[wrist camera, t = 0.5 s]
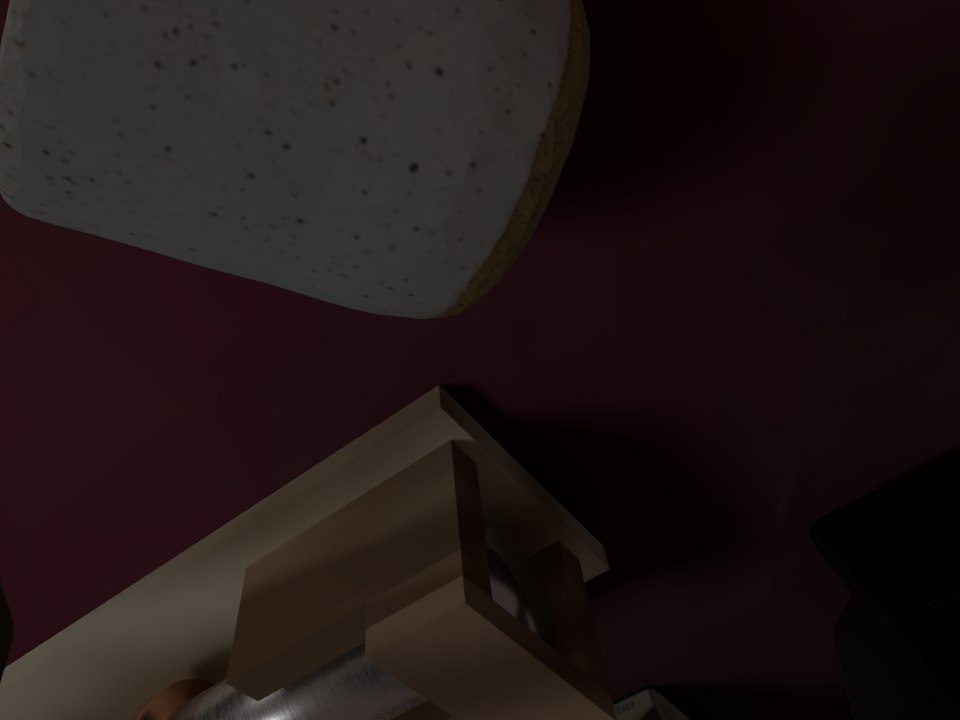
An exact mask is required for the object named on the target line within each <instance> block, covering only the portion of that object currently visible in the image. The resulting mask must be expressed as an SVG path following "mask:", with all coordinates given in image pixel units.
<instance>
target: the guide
mask: <svg viewBox="0 0 960 720" xmlns="http://www.w3.org/2000/svg"><path fill="white" fill-rule="evenodd" d="M489 527H495V528H498V529H500V530H502V531H503V532H505V533H506V534H508V535H509V536H510V537H511V538H512V539H513V540H514V541H515V542H516V543H517V544H518V545H519V547H520V548H521V549H522V550H523V552H524V553H525V555H526V556H527V557H528V559H529V561H530V562H531V564H532V565H533V567H534V569H535V571H536V573H537V575H538V577H539V579H540V581H541V583H542V586H543V588H544V590H545V593H546V596H547V599H548V603H549V607H550V612H551V620H552V628H551V633H550V636H549V637H548V639H547V640H545V641H544V640H542V639H541V638H540V637H539V636H538V635H536V634H535V633H534V632H533V631H531V630H530V629H529V628H528V627H526V626H525V625H524V624H523V623H521V622H520V621H519V620H518V619H516V618H515V617H514V616H513V615H512V614H510V613H509V612H508V611H507V610H505V609H504V608H503V607H502V606H500V605H499V604H498V603H497V602H495V601H494V600H493V598H492V590H491V582H490V573H489V565H488V557H487V549H486V541H485V532H484V530H485V529H486V528H489ZM607 570H609V565H608V562H607V558H606V554H605V550H604V547H603V545H602V544H601V543H600V542H599V541H598V540H597V539H596V538H595V537H594V536H593V535H592V534H591V533H590V532H589V531H587V530H586V529H585V528H584V527H583V526H582V525H581V524H580V523H579V522H578V521H577V520H576V519H575V518H574V517H573V516H572V515H571V514H570V513H569V512H568V511H567V510H566V509H565V508H564V507H563V506H562V505H561V504H560V503H559V502H558V501H557V500H556V499H555V498H554V497H553V496H552V495H551V494H550V493H549V492H548V491H547V490H546V489H545V488H544V487H543V486H542V485H541V484H539V483H538V482H537V481H536V480H535V479H534V478H533V477H532V476H531V475H530V474H529V473H528V472H527V471H526V470H525V469H524V468H523V467H522V466H521V465H520V464H519V463H518V462H517V461H516V460H515V459H514V458H513V457H512V456H511V455H510V454H509V453H508V452H507V451H506V450H505V449H504V448H503V447H502V446H501V445H500V444H499V443H498V442H497V441H496V440H495V439H494V438H493V437H491V436H490V435H489V434H488V433H487V432H486V431H485V430H484V429H483V428H482V427H481V426H480V425H479V424H478V423H477V422H476V421H475V420H474V419H473V418H472V417H471V416H470V415H469V414H468V413H467V412H466V411H465V410H464V409H463V408H462V407H461V406H460V405H459V404H458V403H457V402H456V401H455V400H454V399H453V398H452V397H451V396H450V395H449V394H448V393H447V392H446V391H445V390H443V389H442V388H441V387H440V386H439V385H438V386H437V387H435V388H434V389H432V390H431V391H429V392H427V393H426V394H424V395H423V396H421V397H420V398H418V399H417V400H415V401H414V402H412V403H411V404H409V405H408V406H406V407H404V408H403V409H401V410H400V411H398V412H397V413H395V414H394V415H392V416H391V417H389V418H388V419H386V420H385V421H383V422H381V423H380V424H378V425H377V426H375V427H374V428H372V429H371V430H369V431H368V432H366V433H365V434H363V435H362V436H360V437H358V438H357V439H355V440H354V441H352V442H351V443H349V444H348V445H346V446H345V447H343V448H342V449H340V450H338V451H337V452H335V453H334V454H332V455H331V456H329V457H328V458H326V459H325V460H323V461H322V462H320V463H319V464H317V465H315V466H314V467H312V468H311V469H309V470H308V471H306V472H305V473H303V474H302V475H300V476H299V477H297V478H296V479H294V480H292V481H291V482H289V483H288V484H286V485H285V486H283V487H282V488H280V489H279V490H277V491H276V492H274V493H273V494H271V495H269V496H268V497H266V498H265V499H263V500H262V501H260V502H259V503H257V504H256V505H254V506H253V507H251V508H250V509H248V510H246V511H245V512H243V513H242V514H240V515H239V516H237V517H236V518H234V519H233V520H231V521H230V522H228V523H226V524H225V525H223V526H222V527H220V528H219V529H217V530H216V531H214V532H213V533H211V534H210V535H208V536H207V537H205V538H203V539H202V540H200V541H199V542H197V543H196V544H194V545H193V546H191V547H190V548H188V549H187V550H185V551H184V552H182V553H180V554H179V555H177V556H176V557H174V558H173V559H171V560H170V561H168V562H167V563H165V564H164V565H162V566H161V567H159V568H157V569H156V570H154V571H153V572H151V573H150V574H148V575H147V576H145V577H144V578H142V579H141V580H139V581H138V582H136V583H134V584H133V585H131V586H130V587H128V588H127V589H125V590H124V591H122V592H121V593H119V594H118V595H116V596H114V597H113V598H111V599H110V600H108V601H107V602H105V603H104V604H102V605H101V606H99V607H98V608H96V609H95V610H93V611H91V612H90V613H88V614H87V615H85V616H84V617H82V618H81V619H79V620H78V621H76V622H75V623H73V624H72V625H70V626H68V627H67V628H65V629H64V630H62V631H61V632H59V633H58V634H56V635H55V636H53V637H52V638H50V639H49V640H47V641H45V642H44V643H42V644H41V645H39V646H38V647H36V648H35V649H33V650H32V651H30V652H29V653H27V654H26V655H24V656H22V657H21V658H19V659H18V660H16V661H15V662H13V663H12V664H10V665H9V666H7V667H6V668H5V669H4V672H3V676H2V679H1V683H0V720H130V718H131V716H132V715H133V713H134V712H135V710H136V709H137V708H138V707H139V706H140V705H141V704H142V703H143V702H144V701H145V700H147V699H148V698H150V697H151V696H153V695H155V694H156V693H158V692H160V691H162V690H163V689H165V688H167V687H168V686H170V685H172V684H173V683H175V682H178V681H181V680H184V679H203V680H207V681H210V682H212V683H214V684H217V683H219V682H220V681H222V680H224V679H226V678H227V679H226V684H228V685H229V686H231V687H233V688H235V689H237V690H238V691H240V692H242V693H244V694H245V695H247V696H249V697H251V698H253V699H254V700H256V701H260V700H262V699H263V698H265V697H267V696H269V695H271V694H272V693H274V692H276V691H278V690H280V689H281V688H283V687H285V686H287V685H289V684H290V683H292V682H294V681H296V680H298V679H299V678H301V677H303V676H305V675H307V674H308V673H310V672H312V671H314V670H316V669H317V668H319V667H321V666H323V665H325V664H326V663H328V662H330V661H332V660H334V659H335V658H337V657H339V656H341V655H343V654H344V653H346V652H348V651H350V650H352V649H353V648H355V647H357V646H359V645H361V644H363V643H364V642H365V659H367V660H368V661H370V662H371V663H373V664H374V665H376V666H377V667H379V668H380V669H382V670H383V671H385V672H387V673H388V674H390V675H391V676H393V677H394V678H396V679H397V680H399V681H400V682H402V683H403V684H405V685H406V686H408V687H409V688H411V689H412V690H414V691H415V692H417V693H419V694H420V695H422V696H423V697H425V698H426V699H428V701H427V702H425V703H423V704H421V705H419V706H417V707H415V708H413V709H411V710H409V711H407V712H405V713H403V714H401V715H399V716H397V717H395V718H393V719H391V720H617V719H616V715H615V711H614V706H613V702H612V698H611V693H610V689H609V685H608V681H607V676H606V672H605V668H604V664H603V659H602V655H601V651H600V647H599V642H598V638H597V634H596V630H595V625H594V621H593V617H592V613H591V608H590V604H589V600H588V595H587V591H586V587H585V582H586V581H588V580H590V579H592V578H594V577H596V576H598V575H600V574H602V573H603V572H605V571H607Z"/></svg>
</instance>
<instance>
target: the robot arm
mask: <svg viewBox="0 0 960 720" xmlns="http://www.w3.org/2000/svg"><path fill="white" fill-rule="evenodd" d="M809 534H810V537H811V538H812V540H813V542H814V544H815V546H816V547H817V548H818V550H819V551H820V552H821V554H822V555H823V556H824V558H825V559H826V560H827V562H828V563H829V564H830V565H831V567H832V568H833V569H834V571H835V572H836V573H837V575H838V576H839V577H840V579H841V580H842V581H843V583H844V584H845V585H846V587H847V588H848V589H849V590H850V592H851V593H852V594H853V595H852V596H851V598H850V600H849V602H848V604H847V606H846V607H845V609H844V611H843V613H842V615H841V617H840V618H839V620H838V622H837V624H836V628H835V633H834V642H835V648H836V653H837V656H838V660H839V664H840V667H841V671H842V675H843V678H844V682H845V686H846V690H847V693H848V697H849V701H850V704H851V708H852V712H853V716H854V719H855V720H960V451H958V452H956V453H954V454H952V455H950V456H948V457H946V458H944V459H942V460H940V461H938V462H936V463H934V464H932V465H931V466H929V467H927V468H925V469H923V470H921V471H919V472H917V473H915V474H913V475H911V476H909V477H907V478H905V479H903V480H901V481H899V482H897V483H895V484H893V485H891V486H889V487H887V488H885V489H883V490H881V491H879V492H877V493H875V494H873V495H871V496H869V497H867V498H865V499H863V500H861V501H859V502H857V503H855V504H853V505H851V506H849V507H847V508H845V509H843V510H841V511H839V512H837V513H835V514H833V515H831V516H829V517H827V518H825V519H823V520H822V521H820V522H818V523H816V524H815V525H813V527H812V528H811V529H810V532H809ZM13 634H14V623H13V617H12V614H11V611H10V608H9V605H8V602H7V599H6V596H5V593H4V591H3V588H2V585H1V582H0V683H1V679H2V676H3V672H4V669H5V665H6V662H7V659H8V655H9V652H10V648H11V645H12V640H13Z"/></svg>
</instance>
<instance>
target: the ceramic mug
mask: <svg viewBox="0 0 960 720" xmlns="http://www.w3.org/2000/svg"><path fill="white" fill-rule="evenodd" d="M589 67H590V32H589V27H588V23H587V19H586V15H585V10H584V6H583V2H582V0H10V2H9V8H8V13H7V18H6V23H5V28H4V32H3V36H2V40H1V50H0V193H1V195H2V197H3V198H4V200H5V201H6V202H7V203H8V204H9V205H10V206H11V207H13V208H14V209H15V210H17V211H19V212H20V213H22V214H24V215H26V216H28V217H31V218H34V219H38V220H41V221H45V222H48V223H52V224H56V225H59V226H63V227H67V228H71V229H75V230H79V231H82V232H86V233H90V234H94V235H97V236H101V237H104V238H108V239H111V240H115V241H118V242H122V243H125V244H129V245H132V246H136V247H139V248H143V249H146V250H150V251H154V252H157V253H160V254H163V255H167V256H170V257H173V258H176V259H179V260H183V261H186V262H190V263H194V264H197V265H201V266H204V267H208V268H211V269H215V270H218V271H222V272H226V273H230V274H233V275H237V276H241V277H245V278H249V279H253V280H257V281H261V282H265V283H268V284H271V285H275V286H278V287H281V288H285V289H288V290H291V291H294V292H298V293H301V294H304V295H307V296H311V297H314V298H317V299H320V300H324V301H327V302H330V303H334V304H337V305H341V306H344V307H348V308H352V309H356V310H360V311H365V312H369V313H373V314H381V315H391V316H400V317H410V318H419V319H433V318H443V317H449V316H453V315H455V314H457V313H459V312H461V311H463V310H465V309H467V308H469V307H471V306H472V305H473V304H474V303H476V302H477V301H478V300H479V299H480V298H482V297H483V296H484V295H485V294H486V293H487V292H489V291H490V290H491V289H492V288H493V287H494V286H496V285H497V284H498V283H499V282H500V281H501V279H502V278H503V277H504V276H505V274H506V273H507V272H508V270H509V269H510V268H511V266H512V265H513V263H514V262H515V261H516V259H517V258H518V257H519V255H520V254H521V252H522V251H523V249H524V248H525V246H526V244H527V243H528V241H529V239H530V238H531V236H532V234H533V233H534V231H535V229H536V227H537V225H538V223H539V221H540V219H541V217H542V215H543V213H544V211H545V209H546V207H547V205H548V203H549V201H550V199H551V196H552V194H553V191H554V189H555V186H556V184H557V181H558V179H559V176H560V174H561V171H562V169H563V166H564V164H565V161H566V159H567V156H568V154H569V151H570V149H571V146H572V144H573V141H574V137H575V133H576V129H577V126H578V122H579V118H580V114H581V110H582V106H583V102H584V98H585V94H586V90H587V86H588V77H589Z"/></svg>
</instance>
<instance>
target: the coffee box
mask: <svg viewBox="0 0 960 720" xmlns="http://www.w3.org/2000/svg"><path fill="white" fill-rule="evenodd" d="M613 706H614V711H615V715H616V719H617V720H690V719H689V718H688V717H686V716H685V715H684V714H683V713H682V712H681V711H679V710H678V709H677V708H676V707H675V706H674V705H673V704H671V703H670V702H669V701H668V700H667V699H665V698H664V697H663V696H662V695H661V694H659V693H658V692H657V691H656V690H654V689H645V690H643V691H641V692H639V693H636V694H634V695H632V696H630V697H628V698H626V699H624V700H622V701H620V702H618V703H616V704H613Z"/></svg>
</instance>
